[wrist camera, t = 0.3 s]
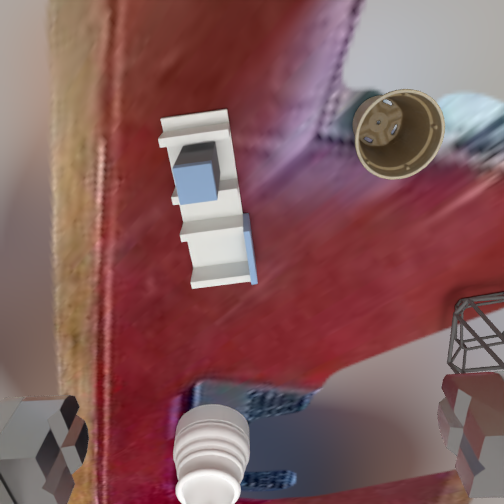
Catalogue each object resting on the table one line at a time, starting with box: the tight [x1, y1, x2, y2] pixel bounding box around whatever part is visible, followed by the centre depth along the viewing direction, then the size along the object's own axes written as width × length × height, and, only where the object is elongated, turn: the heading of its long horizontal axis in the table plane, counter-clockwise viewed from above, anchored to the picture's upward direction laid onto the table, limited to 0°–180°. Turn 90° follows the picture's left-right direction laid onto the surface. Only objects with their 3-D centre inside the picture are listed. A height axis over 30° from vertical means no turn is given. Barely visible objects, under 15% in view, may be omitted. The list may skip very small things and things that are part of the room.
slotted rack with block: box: [158, 109, 258, 289], centre depth 55 cm, size 23×9×6 cm, turn 7°
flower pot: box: [353, 89, 445, 179], centre depth 49 cm, size 9×9×9 cm
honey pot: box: [173, 404, 250, 504], centre depth 69 cm, size 13×13×18 cm
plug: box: [172, 142, 220, 205], centre depth 49 cm, size 4×4×10 cm
